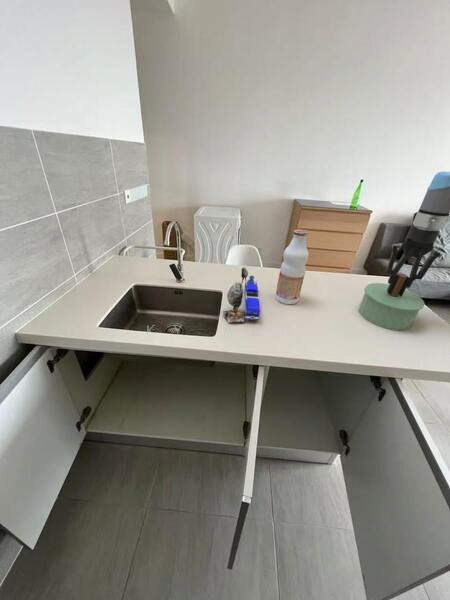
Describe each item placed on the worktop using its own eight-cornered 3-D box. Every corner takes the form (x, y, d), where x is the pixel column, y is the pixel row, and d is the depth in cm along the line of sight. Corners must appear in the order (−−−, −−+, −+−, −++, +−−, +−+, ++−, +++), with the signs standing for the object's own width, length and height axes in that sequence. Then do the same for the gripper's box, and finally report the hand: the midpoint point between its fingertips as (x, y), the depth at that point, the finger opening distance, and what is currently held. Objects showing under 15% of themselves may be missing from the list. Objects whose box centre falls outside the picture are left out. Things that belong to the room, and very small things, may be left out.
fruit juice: (282, 306, 95) (296, 235, 80) (271, 294, 103) (282, 227, 88) (302, 303, 98) (320, 234, 83) (290, 292, 105) (304, 227, 91)
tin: (407, 311, 97) (416, 292, 92) (414, 336, 83) (426, 315, 78) (358, 299, 103) (365, 281, 98) (358, 320, 89) (366, 301, 85)
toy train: (255, 288, 106) (257, 272, 102) (258, 323, 85) (261, 304, 81) (243, 288, 106) (245, 271, 102) (244, 322, 85) (246, 303, 81)
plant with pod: (244, 307, 93) (249, 258, 83) (245, 325, 83) (252, 272, 73) (223, 306, 93) (225, 257, 82) (222, 324, 83) (225, 271, 73)
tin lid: (417, 293, 93) (429, 271, 88) (427, 318, 78) (442, 294, 73) (363, 281, 99) (372, 260, 94) (363, 302, 85) (373, 279, 80)
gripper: (397, 226, 75) (370, 291, 88) (461, 235, 70) (422, 304, 82) (395, 221, 81) (369, 283, 93) (454, 229, 75) (418, 294, 88)
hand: (394, 293), depth 88 cm, fingers closed on tin lid, 3 cm apart
